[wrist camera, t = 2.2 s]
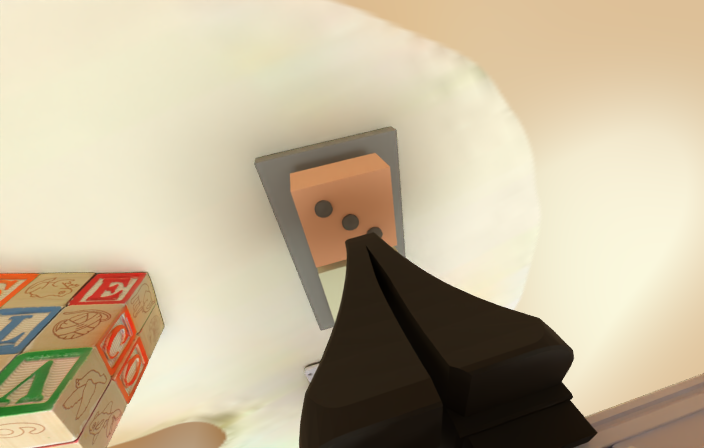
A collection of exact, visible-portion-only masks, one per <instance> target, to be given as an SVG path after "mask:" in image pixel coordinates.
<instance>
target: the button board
mask: <svg viewBox="0 0 704 448" xmlns="http://www.w3.org/2000/svg"><path fill="white" fill-rule="evenodd" d="M372 153H376V154H377V155H378V156H379V157H380V158H381V159H382V160H383V161H384V162H386V163H387V164H388V165H389V166H390V172H391V183H392V194H393V205H394V216H395V227H396V238H397V245H396V246H395V248H396V249H397V251H398V253H400V254H401V255H402V256H404V257H405V245H404V231H403V216H402V202H401V188H400V174H399V160H398V146H397V132H396V129H394V128H393V127H387V128H383V129H379V130H374V131H370V132H366V133H362V134H357V135H353V136H349V137H345V138H340V139H336V140H332V141H328V142H323V143H319V144H315V145H310V146H306V147H302V148H298V149H293V150H289V151H285V152H281V153H276V154H272V155H268V156H264V157H259V158H256V159H255V162H254V164H255V167H256V169H257V172H258V174H259V177H260V179H261V182H262V184H263V187H264V189H265V192H266V194H267V197H268V199H269V202H270V204H271V207H272V209H273V212H274V214H275V217H276V219H277V222H278V224H279V227H280V229H281V232H282V234H283V237H284V239H285V242H286V244H287V247H288V249H289V252H290V254H291V257H292V259H293V262H294V264H295V267H296V270H297V272H298V275H299V277H300V280H301V282H302V285H303V287H304V290H305V292H306V295H307V297H308V300H309V302H310V305H311V307H312V310H313V312H314V315H315V317H316V320H317V322H318V325H319V327H320V330H325V329H328V328H331V327H334V324H335V322H334V319H333V316H332V313H331V310H330V307H329V304H328V301H327V298H326V295H325V292H324V289H323V286H322V283H321V280H320V277H319V275H318V269H317V268H316V266H315V263H314V260H313V257H312V254H311V251H310V248H309V245H308V242H307V239H306V236H305V233H304V230H303V227H302V224H301V221H300V218H299V215H298V212H297V209H296V206H295V203H294V200H293V197H292V195H291V190H290V173H294V172H298V171H302V170H306V169H310V168H315V167H319V166H323V165H327V164H331V163H335V162H339V161H343V160H347V159H352V158H356V157H360V156H364V155H368V154H372Z"/></svg>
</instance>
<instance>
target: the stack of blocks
mask: <svg viewBox="0 0 704 448" xmlns="http://www.w3.org/2000/svg"><path fill="white" fill-rule="evenodd" d="M156 301H157V300H156V296H155V293H154V290H153V287H152V283H151V281H150V278H149V276H148V274H147V273H108V274H95V273H47V274H33V273H25V274H0V448H107V446H108V444H109V442H110V439H111V437H112V435H113V433H114V431H115V429H116V427H117V425H118V423H119V421H120V419H121V417H122V415H123V413H124V411H125V408H126V405H127V404H129V402H130V400H131V398H132V396H133V394H134V392H135V390H136V388H137V386H138V384H139V382H140V379H141V377H142V375H143V373H144V371H145V369H146V366H147V364H148V361H149V359H150V357H151V355H152V353H153V350H154V348H155V346H156V344H157V342H158V340H159V337H160V335H161V333H162V331H163V329H164V325H163V321H162V317H161V314H160V311H159V308H158V304H157V302H156Z"/></svg>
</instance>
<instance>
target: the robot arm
mask: <svg viewBox="0 0 704 448" xmlns="http://www.w3.org/2000/svg"><path fill="white" fill-rule="evenodd" d="M345 245H346V251H347V263H346V275H345V282H344V288H343V294H342V299H341V303H340V307H339V311H338V314H337V318H336V321H335V324H334V327H333V330H332V333H331V336H330V339H329V341H328V344H327V346H326V349H325V351H324V354H323V356H322V359H321V361H320V363H318V364H315V365H312V366H309V367H306V368H305V369H304V372H305V375H306V377H307V379H308V380H309V382H310V385H309V387H308V389H307V391H306V393H305V398H304V403H303V409H302V415H301V423H300V436H299V448H704V373H703V374H700V375H698V376H695V377H692V378H690V379H687V380H684V381H681V382H679V383H676V384H673V385H671V386H668V387H665V388H662V389H660V390H657V391H654V392H652V393H649V394H646V395H643V396H641V397H638V398H635V399H633V400H630V401H627V402H624V403H622V404H619V405H616V406H614V407H611V408H608V409H605V410H603V411H600V412H598V413H595V414H592V415H589V416H587V417H584V416H583V415H582V414H581V413H580V411H579V410H578V409H577V408H576V407H575V405H574V404H573V403H572V402H571V401H570V399H572V398H573V396H572V394H571V392H570V391H569V390H568V389H567V388H566V386H565V385H564V384H563V383H562V380H563V378H564V377H565V375H566V373H567V371H568V370H569V368H570V367H571V364H572V362H573V359H574V355H573V350H572V349H571V348H570V347H569V346H568V345H567V344H566V343H565V342H564V341H563V340H562V339H561V338H560V337H559V336H558V335H557V334H556V333H555V332H554V331H553V330H552V329H551V328H550V327H549V326H548V325H546V324H545V323H544V322H543V321H542V320H541V319H540V318H537V317H534V316H530V315H527V314H524V313H521V312H518V311H514V310H511V309H508V308H505V307H502V306H499V305H496V304H494V303H491V302H488V301H486V300H483V299H480V298H478V297H475V296H473V295H471V294H469V293H466V292H464V291H462V290H460V289H457V288H455V287H453V286H451V285H449V284H447V283H445V282H443V281H441V280H439V279H438V278H436V277H434V276H432V275H431V274H429V273H427V272H426V271H424V270H422V269H421V268H419V267H418V266H416V265H415V264H413V263H412V262H410V261H409V260H408V259H406V258H405V257H404V256H402V255H401V254H400V253H398V252H397V251H396V250H394V249H393V248H392V247H391V246H390V245H388V244H387V243H386V242H385V241H384V240H383V239H381V238H380V237H379V236H378V235H377V234H376V233H374V232H372V233H369V234H365V235H361V236H358V237H354V238H350V239H347V240H346V241H345Z"/></svg>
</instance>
